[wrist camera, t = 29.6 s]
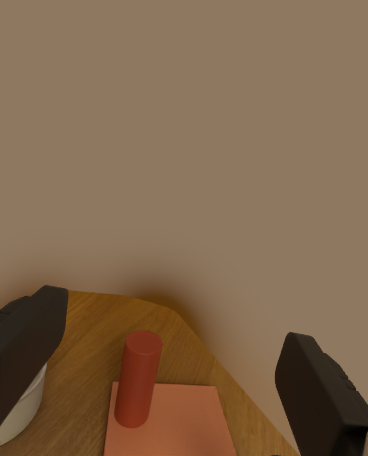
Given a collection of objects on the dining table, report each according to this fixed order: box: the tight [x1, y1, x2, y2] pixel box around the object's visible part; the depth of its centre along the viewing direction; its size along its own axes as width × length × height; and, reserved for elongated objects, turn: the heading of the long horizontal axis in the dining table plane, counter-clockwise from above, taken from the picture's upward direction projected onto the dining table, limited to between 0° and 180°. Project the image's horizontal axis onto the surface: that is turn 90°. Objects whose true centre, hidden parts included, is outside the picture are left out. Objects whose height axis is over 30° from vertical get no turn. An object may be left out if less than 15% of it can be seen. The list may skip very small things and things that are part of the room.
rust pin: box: [114, 330, 163, 428], centre depth 36 cm, size 5×5×11 cm
